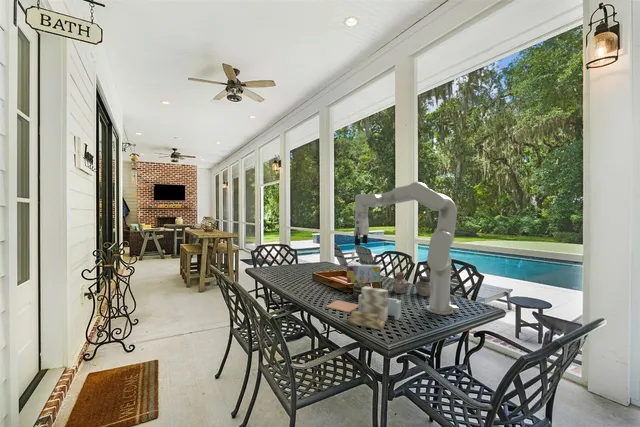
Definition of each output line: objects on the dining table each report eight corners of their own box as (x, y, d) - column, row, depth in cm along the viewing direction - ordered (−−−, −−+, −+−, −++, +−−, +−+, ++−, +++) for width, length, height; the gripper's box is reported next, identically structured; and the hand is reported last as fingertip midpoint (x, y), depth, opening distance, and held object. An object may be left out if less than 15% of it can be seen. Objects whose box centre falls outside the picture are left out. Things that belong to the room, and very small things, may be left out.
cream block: (387, 319, 144) (388, 290, 143) (384, 322, 141) (385, 292, 140) (364, 314, 150) (365, 286, 150) (361, 316, 147) (361, 288, 147)
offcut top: (379, 320, 136) (379, 314, 136) (377, 322, 133) (377, 316, 133) (354, 315, 142) (354, 310, 142) (351, 317, 139) (351, 312, 139)
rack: (401, 316, 147) (401, 300, 147) (397, 320, 143) (397, 303, 143) (362, 308, 159) (363, 293, 158) (358, 311, 154) (358, 295, 154)
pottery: (392, 288, 195) (393, 270, 194) (434, 293, 186) (434, 274, 186) (390, 293, 184) (390, 274, 184) (434, 298, 176) (434, 278, 175)
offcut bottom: (384, 327, 135) (384, 321, 135) (381, 331, 132) (381, 324, 132) (351, 320, 143) (352, 314, 143) (348, 323, 140) (348, 316, 140)
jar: (349, 298, 176) (349, 285, 175) (360, 294, 183) (360, 281, 182) (363, 302, 168) (363, 288, 168) (374, 298, 175) (374, 285, 175)
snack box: (379, 287, 197) (379, 264, 197) (380, 290, 192) (380, 266, 191) (346, 286, 200) (347, 263, 199) (346, 288, 194) (346, 265, 193)
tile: (359, 306, 162) (359, 304, 162) (349, 312, 152) (349, 311, 152) (337, 301, 170) (337, 300, 169) (325, 307, 159) (325, 306, 159)
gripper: (360, 216, 168) (360, 246, 168) (373, 215, 182) (373, 243, 183) (348, 215, 172) (348, 245, 173) (362, 214, 186) (362, 242, 187)
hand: (361, 244), depth 178 cm, fingers open, 9 cm apart
